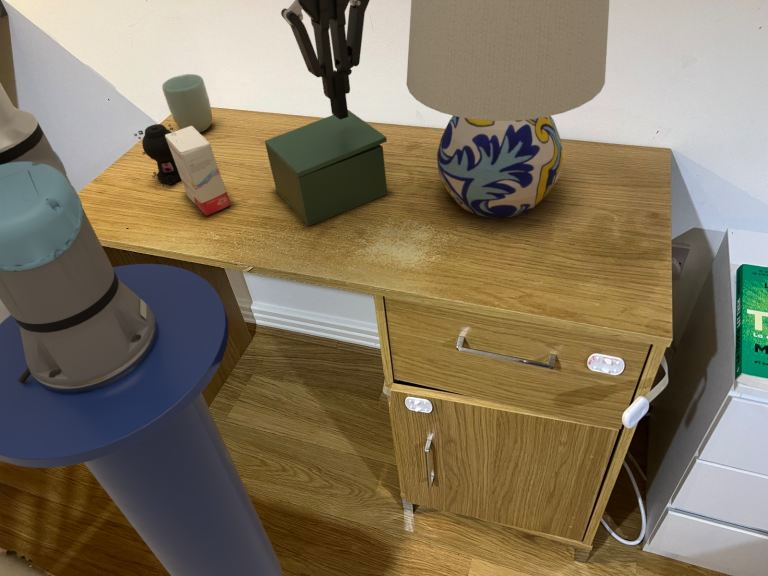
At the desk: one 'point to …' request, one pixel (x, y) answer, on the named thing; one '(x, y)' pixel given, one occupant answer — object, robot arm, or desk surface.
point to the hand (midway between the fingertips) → (340, 115)
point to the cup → (188, 101)
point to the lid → (324, 143)
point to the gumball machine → (160, 152)
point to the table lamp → (504, 90)
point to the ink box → (198, 170)
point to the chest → (331, 185)
